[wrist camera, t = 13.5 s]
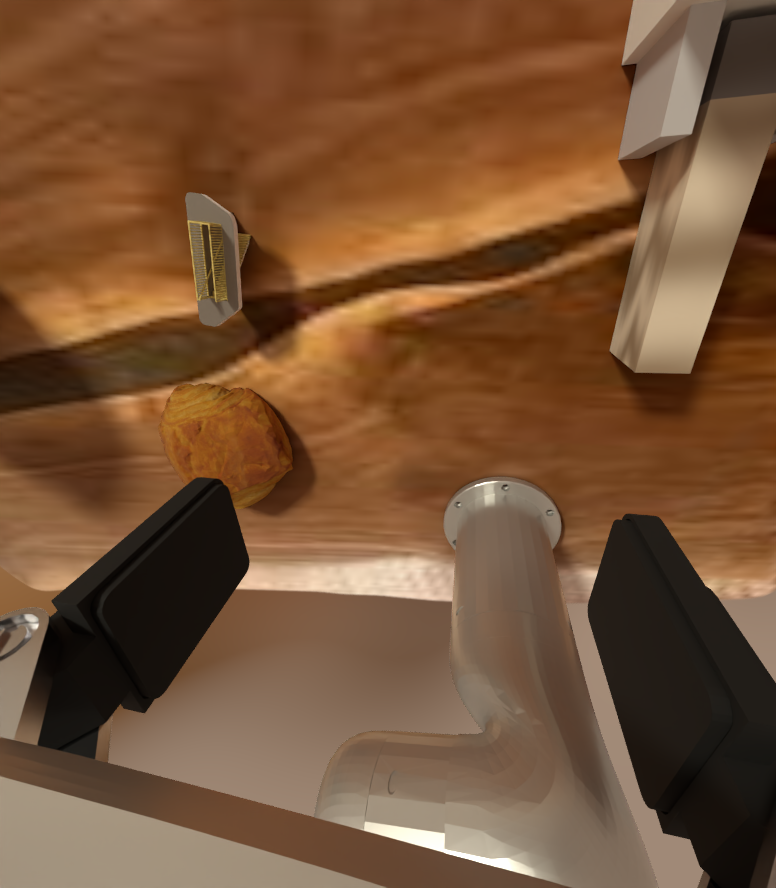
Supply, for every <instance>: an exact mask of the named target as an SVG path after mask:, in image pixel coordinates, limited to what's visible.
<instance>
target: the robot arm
mask: <svg viewBox="0 0 776 888" xmlns="http://www.w3.org/2000/svg"><path fill="white" fill-rule="evenodd" d="M505 484H506V485H505ZM561 526H562V525H561V519H560V515H559V512H558V509H557V507H556V505H555V503H554V502H553V500H552V499H551V498H550V497H549V496H548V494H547V493H546V492H544V491H543V490H542V489H540V488H539V487H537V486H536V485H533V484H531V483H529V482H527V481H524V480H520V479H517V478H511V477H490V478H485V479H480V480H477V481H475V482H472V483H470V484H468V485H466V486H465V487H463V488H461V489H460V490H459V491H458V492H457V493H456V494H454V496H453V497H452V498H451V500H450V501H449V503H448V505H447V507H446V510H445V515H444V531H445V535H446V537H447V539H448V542H449V543H450V545H451V546H452V547H453V549H454V550H455V551H456V553H455V569H454V585H453V602H452V619H451V635H450V669H451V675H452V679H453V682H454V685H455V688H456V690H457V692H458V694H459V696H460V698H461V700H462V702H463V704H464V705H465V707H466V708H467V710H468V711H469V713H470V714H471V716H472V717H473V719H474V720H475V722H476V723H477V724H478V726H479V727H480V728H481V730H482V731H483V733H479V734H458V735H450V734H435V733H420V732H419V733H418V732H403V731H368V732H363V733H360V734H357V735H355V736H353V737H351V738H349V739H348V740H346V741H345V742H344V743H343V744H342V745H341V746H340V747H339V748H338V749H337V751H336V752H335V754H334V755H333V757H332V758H331V760H330V762H329V764H328V766H327V769H326V771H325V774H324V776H323V779H322V782H321V786H320V789H319V793H318V797H317V802H316V807H315V813H314V817H311V816H307V815H303V814H300V813H296V812H292V811H288V810H285V809H281V808H277V807H274V806H270V805H266V804H262V803H258V802H255V801H251V800H247V799H243V798H240V797H236V796H232V795H229V794H225V793H221V792H217V791H214V790H210V789H206V788H202V787H198V786H195V785H191V784H187V783H183V782H179V781H175V780H172V779H168V778H163V777H160V776H156V775H152V774H149V773H145V772H141V771H137V770H133V769H129V768H126V767H122V766H118V765H114V764H110V763H108V758H109V748H110V737H111V727H112V716H113V713H114V711H115V710H116V709H117V707H118V706H119V705H120V704H121V705H122V706H123V708H124V709H128V710H133V711H137V712H141V713H145V712H146V711H147V709H148V708H149V707H150V705H151V704H152V702H153V701H154V699H156V698H159V697H160V696H161V695H162V694H163V693H164V692H165V691H166V690H167V688H168V687H169V685H170V684H171V682H172V681H173V679H174V678H175V676H176V675H177V674H178V672H179V671H180V669H181V668H182V666H183V665H184V663H185V662H186V660H187V659H188V657H189V656H190V654H191V653H192V651H193V650H194V649H195V647H196V646H197V644H198V643H199V641H200V640H201V638H202V637H203V636H204V634H205V633H206V631H207V629H208V628H209V627H210V625H211V623H212V622H213V621H214V619H215V618H216V617H217V615H218V614H219V612H220V611H221V609H222V608H223V606H224V605H225V603H226V602H227V600H228V599H229V597H230V596H231V595H232V593H233V592H234V590H235V589H236V587H237V586H238V584H239V583H240V581H241V580H242V579H243V577H244V576H245V574H246V572H247V570H248V568H249V557H248V553H247V550H246V546H245V543H244V539H243V536H242V533H241V529H240V526H239V522H238V519H237V515H236V512H235V509H234V505H233V502H232V498H231V495H230V491H229V489H228V487H227V486H226V485H224V483H223V482H222V481H221V480H220V479H217V478H205V477H197V478H195V479H193V480H192V481H191V482H190V483H189V484H187V485H186V486H185V487H184V488H183V489H182V490H180V491H179V492H178V493H177V494H176V495H175V496H173V497H172V498H171V499H170V500H169V501H168V502H166V503H165V504H164V505H163V506H162V507H161V508H159V509H158V510H157V511H156V512H155V513H153V514H152V515H151V516H150V517H149V518H148V519H146V520H145V521H144V522H143V523H142V524H141V525H139V526H138V527H137V528H136V529H135V530H134V531H132V532H131V533H130V534H129V535H128V536H127V537H125V538H124V539H123V540H122V541H121V542H120V543H118V544H117V545H116V546H115V547H114V548H112V549H111V550H110V551H109V552H108V553H107V554H105V555H104V556H103V557H102V558H101V559H100V560H98V561H97V562H96V563H95V564H94V565H93V566H91V567H90V568H89V569H88V570H87V571H86V572H84V573H83V574H82V575H81V576H80V577H79V578H77V579H76V580H75V581H74V582H73V583H72V584H70V585H69V586H68V587H67V588H66V589H64V590H63V591H62V592H61V593H60V594H59V595H57V596H56V597H55V598H54V599H53V600H52V603H53V604H54V606H55V607H56V609H57V610H58V611H57V612H56V613H55V614H54V615H52V616H51V617H50V616H49V615H48V613H47V612H46V611H45V610H43V609H40V608H37V607H36V608H24V609H20V610H16V611H12V612H10V613H8V614H5V615H3V616H0V888H659V887H658V883H657V880H656V877H655V874H654V871H653V869H652V866H651V863H650V860H649V857H648V854H647V851H646V848H645V845H644V843H643V840H642V838H641V835H640V833H639V830H638V828H637V825H636V823H635V820H634V818H633V815H632V813H631V810H630V808H629V805H628V803H627V800H626V798H625V795H624V793H623V790H622V788H621V785H620V783H619V780H618V778H617V775H616V773H615V770H614V768H613V765H612V762H611V760H610V757H609V754H608V751H607V749H606V746H605V743H604V740H603V737H602V735H601V732H600V729H599V725H598V722H597V719H596V716H595V712H594V709H593V706H592V702H591V699H590V695H589V692H588V688H587V685H586V681H585V677H584V674H583V670H582V666H581V662H580V658H579V654H578V650H577V647H576V643H575V638H574V634H573V630H572V626H571V623H570V618H569V614H568V610H567V607H566V602H565V598H564V594H563V591H562V587H561V583H560V579H559V575H558V571H557V567H556V563H555V559H554V555H553V551H552V550H553V549H554V547H555V546H556V544H557V543H558V540H559V538H560V535H561ZM588 618H589V622H590V625H591V629H592V632H593V635H594V639H595V642H596V645H597V649H598V652H599V655H600V659H601V662H602V665H603V669H604V672H605V675H606V679H607V682H608V685H609V689H610V692H611V695H612V699H613V702H614V705H615V709H616V712H617V715H618V719H619V722H620V725H621V729H622V732H623V735H624V738H625V742H626V745H627V749H628V752H629V755H630V759H631V762H632V765H633V768H634V772H635V775H636V779H637V782H638V785H639V789H640V792H641V795H642V797H643V800H644V801H645V804H646V805H647V806H648V807H649V808H650V809H654V810H656V812H657V816H658V819H659V822H660V825H661V828H662V831H663V833H665V834H669V835H674V836H678V837H682V838H687V839H690V840H691V843H692V846H693V849H694V851H695V854H696V857H697V860H698V862H699V865H700V867H701V868H702V869H703V870H704V871H703V874H702V877H701V880H700V882H699V885H698V888H776V683H775V681H774V680H773V678H772V677H771V675H770V674H769V673H768V671H767V670H766V668H765V667H764V665H763V664H762V662H761V661H760V659H759V658H758V656H757V655H756V653H755V652H754V650H753V649H752V647H751V646H750V645H749V643H748V642H747V640H746V639H745V637H744V636H743V634H742V633H741V631H740V630H739V628H738V627H737V625H736V624H735V622H734V621H733V619H732V618H731V617H730V615H729V614H728V612H727V611H726V609H725V608H724V606H723V605H722V603H721V602H720V600H719V599H718V597H717V596H716V595H715V594H714V593H713V591H712V590H711V589H709V588H708V587H706V586H705V584H704V583H703V581H702V580H701V578H700V577H699V575H698V574H697V572H696V571H695V569H694V568H693V566H692V565H691V563H690V562H689V560H688V559H687V557H686V556H685V554H684V553H683V551H682V550H681V548H680V547H679V545H678V544H677V542H676V541H675V539H674V538H673V536H672V535H671V533H670V532H669V530H668V529H667V527H666V526H665V524H664V523H663V521H662V520H661V519H660V518H659V517H657V516H649V515H637V514H625V515H624V517H623V518H622V520H615V521H614V522H613V525H612V528H611V531H610V534H609V538H608V541H607V544H606V547H605V551H604V554H603V557H602V560H601V564H600V567H599V570H598V573H597V577H596V580H595V583H594V586H593V590H592V593H591V596H590V599H589V603H588Z"/></svg>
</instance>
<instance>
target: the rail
mask: <svg viewBox="0 0 776 888" xmlns="http://www.w3.org/2000/svg"><path fill="white" fill-rule="evenodd" d="M775 129H776V14H775V15H768V16H761V17H753V18H746V19H739V20H732V21H731V22H730V23H729V24H728V25H727V26H725V27H724V28H723V29H722V30H721V31H719V33H718V37H717V41H716V44H715V48H714V52H713V56H712V59H711V63H710V67H709V71H708V75H707V78H706V82H705V86H704V90H703V93H702V97H701V101H700V105H699V108H698V112H697V116H696V120H695V123H694V127H693V131H692V134H691V135H688V136H686V137H684V138H682V139H680V140H678V141H676V142H674V143H672V144H670V145H668V146H666V147H664V148H662V149H660V150H658V151H657V153H656V157H655V161H654V166H653V170H652V174H651V178H650V182H649V187H648V191H647V195H646V199H645V204H644V208H643V212H642V216H641V220H640V225H639V229H638V233H637V237H636V241H635V246H634V250H633V254H632V258H631V263H630V267H629V271H628V275H627V279H626V284H625V288H624V292H623V296H622V301H621V305H620V309H619V313H618V317H617V322H616V326H615V330H614V334H613V339H612V343H611V347H610V352H611V353H612V354H613V355H615V356H616V357H617V358H618V359H619V360H621V361H622V362H623V363H624V364H625V365H627V366H628V367H629V368H630V369H631V370H633V371H634V372H635V373H686V374H690V373H691V370H692V367H693V364H694V361H695V358H696V355H697V353H698V350H699V347H700V344H701V341H702V338H703V335H704V332H705V330H706V327H707V324H708V321H709V318H710V315H711V312H712V309H713V307H714V304H715V301H716V298H717V295H718V292H719V289H720V286H721V284H722V281H723V278H724V275H725V272H726V269H727V266H728V263H729V261H730V258H731V255H732V252H733V249H734V246H735V243H736V241H737V238H738V235H739V232H740V229H741V226H742V223H743V220H744V218H745V215H746V212H747V209H748V206H749V203H750V200H751V197H752V195H753V192H754V189H755V186H756V183H757V180H758V177H759V174H760V172H761V169H762V166H763V163H764V160H765V157H766V154H767V151H768V149H769V146H770V143H771V140H772V137H773V134H774V131H775Z"/></svg>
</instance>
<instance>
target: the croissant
mask: <svg viewBox="0 0 776 888" xmlns="http://www.w3.org/2000/svg"><path fill="white" fill-rule="evenodd" d="M158 431H159V434H160V437H161V441H162V443H163V445H164V450H165V453H166V456H167V458H168V460H169V461H170V463H171V465H172V466H173V468H174V470H175V471H176V473H177V474H178V476H179V477H180V479H181V480H182V482H183V483H184V484H185V485H187V484H189V483H190V482H191V481H192V480H193V479H195V478H197V477H205V478H217V479H220V480H221V481H222V482H223V483H224V485H226V486H227V487H228V489H229V491H230V495H231V498H232V502H233V505H234V508H235V509H242V508H246V507H248V506H251V505H253V504H255V503H257V502H258V501H260V500H261V499H263V498H265V497H266V496H267V495H269V493H270V492H271V491H272V489H273V488H274V486H275V484H276V482H278V481H279V480H280V479H281V478H282V477H283V476H284V475H285V474H286V472H288V471H290V470H292V469H293V467H292V462H293V458H292V448H291V446H290V443H289V439H288V437H287V435H286V433H285V430H284V428H283V426H282V424H281V422H280V421H279V419H278V417H277V416H276V414H275V413H274V411H273V410H272V409H271V408H270V407H269V405H268V404H267V403H266V402H264V401H263V400H262V399H261V398H260V397H259V396H258V395H257V394H256V393H255V392H253V391H251V390H250V389H248V388H246V389H244V390H243V389H242V388H240V387H239V388H234V389H232V390H231V391H228V390H227V389H225V388H224V387H221V386H215V385H211V384H208V383H205V384H198V385H195V386H194V385H191V384H185V385H181V386H178V387H177V388H175V389H174V391H173V392H172V394H171V396H170V397H169V399H168V400H167V403H166V406H165V410H164V411H163V413H162V416H161V423H160V424H159V426H158Z"/></svg>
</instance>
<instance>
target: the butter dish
mask: <svg viewBox="0 0 776 888" xmlns="http://www.w3.org/2000/svg"><path fill="white" fill-rule="evenodd" d="M185 200H186V208H187V217H188V229H189V237H190V246H191V254H192V262H193V271H194V279H195V288H196V296H197V302H198V310H199V318H200V321H201V322H202V323H203V324H205V325H210V326H218V325H221V324H222V323H223V322H225V321H226V320H227V319H229V318H230V317H231V316H233V315H234V314H235V313H237V312H238V311H239V310H240V309H241V308H242V294H241V278H240V267H241V264H242V262H243V259H244V257H245V253H246V250H247V248H248V245H249V243H250V242H249V240H250V238H251V237H250V236H251V235H248V234H242V233H238V229H237V223H236V220H235V217H234V216H233V213H231V212H229V211H227V210H226V209H225V208H223V207H222V206H220V205H219V204H218V203H216V202H215V201H214V200H212V199H211V198H209V197H208V196H207V195H203V194H197V193H187V194H186V197H185Z"/></svg>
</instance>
